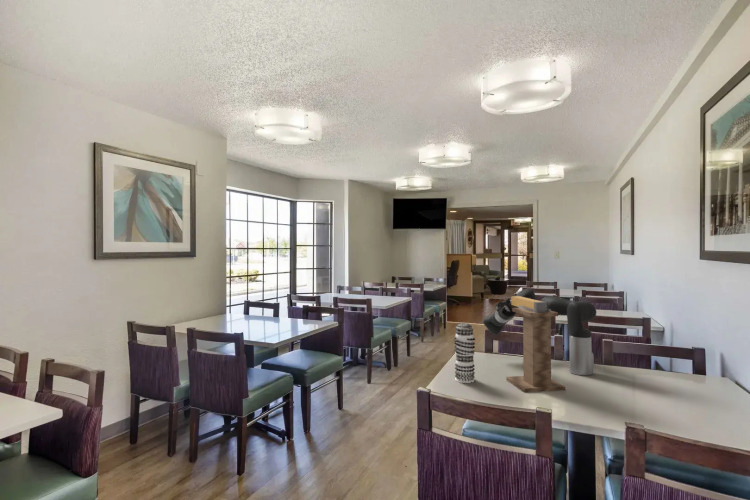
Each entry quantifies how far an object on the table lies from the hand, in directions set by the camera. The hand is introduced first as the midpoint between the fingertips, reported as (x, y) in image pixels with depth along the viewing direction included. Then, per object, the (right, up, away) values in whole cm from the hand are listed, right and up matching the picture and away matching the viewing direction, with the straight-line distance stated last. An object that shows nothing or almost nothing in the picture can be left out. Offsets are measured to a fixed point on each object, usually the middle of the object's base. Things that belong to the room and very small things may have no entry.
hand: (518, 300), depth 190 cm
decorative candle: (-26, -35, -7) cm, 44 cm away
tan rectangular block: (+1, -3, -7) cm, 8 cm away
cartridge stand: (+2, -35, -14) cm, 37 cm away
